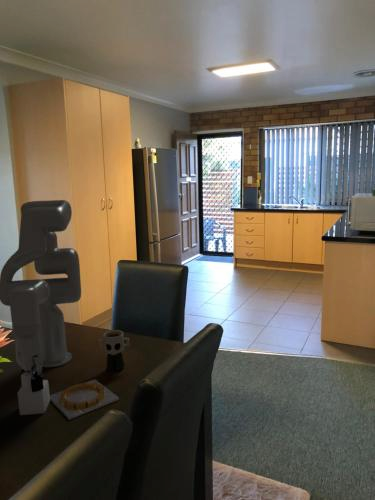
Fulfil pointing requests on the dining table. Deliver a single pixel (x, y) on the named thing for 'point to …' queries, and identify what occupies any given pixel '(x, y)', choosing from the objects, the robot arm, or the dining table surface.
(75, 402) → the white square ringed board
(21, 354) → the robot arm
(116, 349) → the character mug
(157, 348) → the dining table surface
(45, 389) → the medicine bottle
